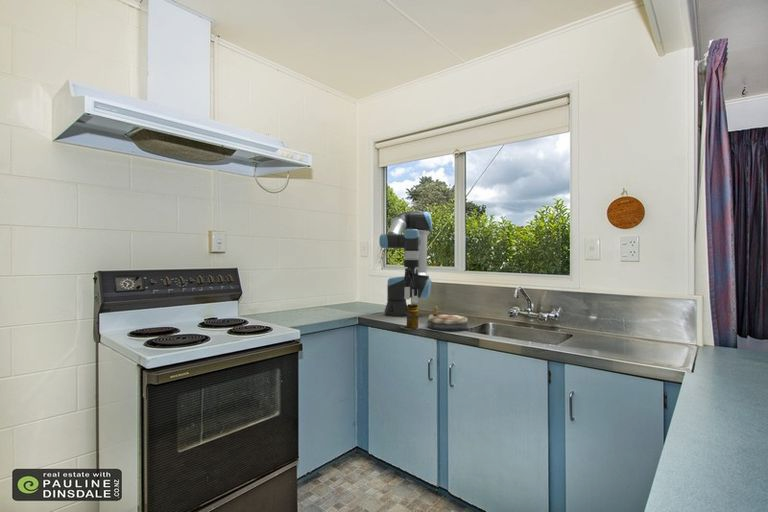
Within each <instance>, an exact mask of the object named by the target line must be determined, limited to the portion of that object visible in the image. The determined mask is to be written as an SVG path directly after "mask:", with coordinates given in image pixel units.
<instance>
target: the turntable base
mask: <svg viewBox="0 0 768 512" xmlns="http://www.w3.org/2000/svg"><path fill="white" fill-rule="evenodd" d="M432 315H433V314H429V316H432ZM429 316H428V317H429ZM427 328H429V329H431V330H436V331H439V332H440V331H442V332H461V331H466V330H468V329H469V321H468V320H467V323H463V324H438V323H433V322H430V321H429V319H428V320H427Z"/></svg>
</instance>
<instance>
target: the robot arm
mask: <svg viewBox="0 0 768 512" xmlns="http://www.w3.org/2000/svg"><path fill="white" fill-rule="evenodd" d="M432 230H433V221H432V215H431V212H430V211H404V212H400V213H398V214H397V215H396V216H394V217H393V218H392V220H391V222H390V227H389V229H388V230H387V233H383V234H380V235H379V242H378V243H379V247H380V248H383V249H403V253H402V255H403V258H404V260H403V267H404V268H405V269H404V276H396V277H390V278H388V279H387V285H386V287H387V292H386V293H387V294H386V295H387V296H386V297H387V298H386V299H387V302H386V305H385V308H384V311H383V312H384V315H386V316H388V317H407V309H408V308H407V307H408V306H407V305H408V302H407V300H411V302H412V304H415V303H419V299H427V298H429V297H430V293H431V287H432V279H431V278H430V276H429V274H427V271H428V270H427V267H428V235H430V234H431V231H432ZM403 231H404V233H403V234H402V232H403Z"/></svg>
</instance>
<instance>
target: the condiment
mask: <svg viewBox="0 0 768 512" xmlns="http://www.w3.org/2000/svg"><path fill="white" fill-rule="evenodd" d="M407 306H408V307H407V308H408V309H407V316H406V326H405V325H404V326H400V328H402V329H405V330H409V331H410V330H417V329H421V327H419V307H418V304H416V303H407Z"/></svg>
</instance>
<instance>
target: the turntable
mask: <svg viewBox="0 0 768 512" xmlns="http://www.w3.org/2000/svg"><path fill="white" fill-rule="evenodd" d="M438 307H439V306H438V305H433V307H432V314H431V315H432V316H428V320H429V321H430V322H433V323H438V324H463V323H467V321H468V320H469V319H468V317H466V316H464V315H457V314H456V315H455V314H439V310H438V309H439V308H438Z"/></svg>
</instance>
